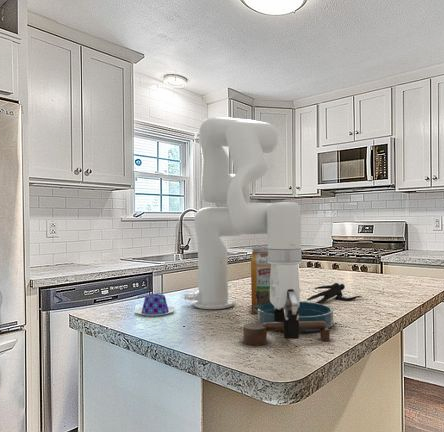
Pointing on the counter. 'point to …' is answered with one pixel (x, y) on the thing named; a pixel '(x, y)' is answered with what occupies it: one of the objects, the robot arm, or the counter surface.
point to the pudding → (155, 306)
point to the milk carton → (260, 277)
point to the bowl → (300, 314)
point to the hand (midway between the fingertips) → (286, 332)
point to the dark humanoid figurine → (331, 293)
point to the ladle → (258, 332)
